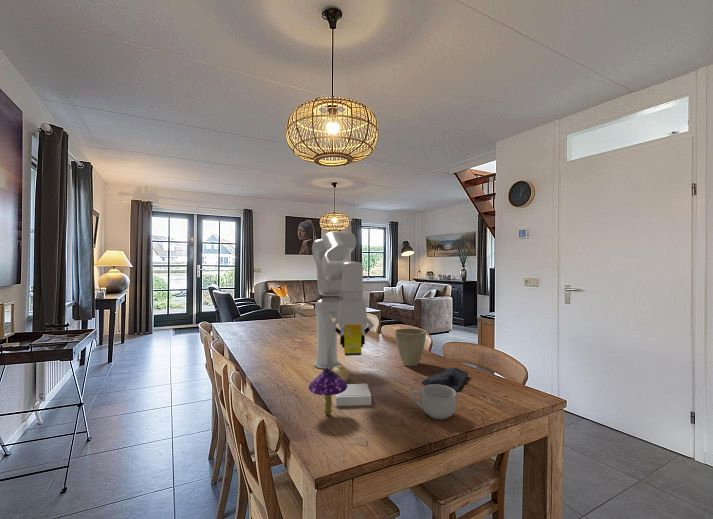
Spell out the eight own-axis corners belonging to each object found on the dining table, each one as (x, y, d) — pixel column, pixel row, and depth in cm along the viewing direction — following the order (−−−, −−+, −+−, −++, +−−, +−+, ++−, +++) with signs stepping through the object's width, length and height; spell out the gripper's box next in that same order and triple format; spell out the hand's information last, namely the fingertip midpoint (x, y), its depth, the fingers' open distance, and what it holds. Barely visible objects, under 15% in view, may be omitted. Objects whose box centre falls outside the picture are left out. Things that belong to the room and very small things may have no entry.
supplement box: (343, 351, 124) (343, 321, 124) (359, 351, 125) (359, 321, 125) (344, 355, 118) (344, 324, 118) (361, 355, 119) (361, 324, 119)
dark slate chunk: (474, 378, 144) (474, 367, 144) (456, 394, 126) (456, 381, 126) (440, 371, 153) (440, 361, 153) (418, 386, 135) (418, 374, 135)
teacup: (457, 410, 111) (457, 386, 111) (455, 425, 101) (455, 398, 101) (414, 405, 116) (414, 381, 116) (409, 418, 106) (409, 393, 106)
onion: (325, 383, 137) (325, 365, 137) (336, 377, 144) (336, 360, 144) (343, 386, 133) (343, 368, 134) (352, 380, 140) (352, 363, 141)
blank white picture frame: (335, 392, 127) (335, 384, 127) (367, 391, 128) (367, 383, 128) (336, 406, 115) (336, 397, 115) (371, 405, 116) (371, 395, 116)
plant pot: (430, 362, 165) (430, 329, 165) (419, 370, 152) (419, 335, 153) (402, 358, 173) (402, 326, 173) (389, 365, 160) (389, 331, 161)
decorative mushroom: (304, 423, 103) (305, 373, 103) (312, 405, 115) (312, 361, 115) (345, 424, 102) (345, 374, 102) (348, 406, 114) (348, 362, 115)
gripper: (328, 297, 117) (328, 349, 117) (377, 297, 119) (377, 348, 118) (328, 295, 125) (328, 344, 124) (374, 295, 126) (374, 343, 126)
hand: (352, 346), depth 121 cm, fingers closed on supplement box, 6 cm apart
